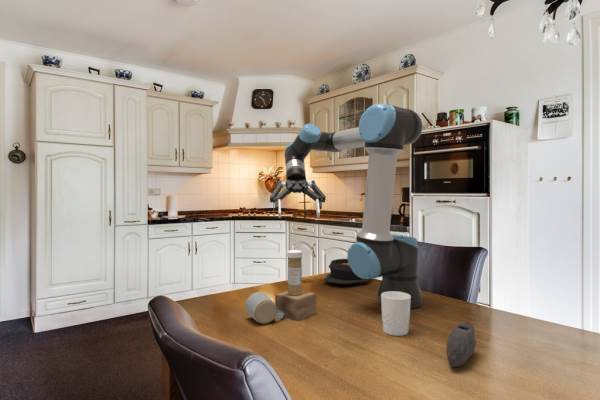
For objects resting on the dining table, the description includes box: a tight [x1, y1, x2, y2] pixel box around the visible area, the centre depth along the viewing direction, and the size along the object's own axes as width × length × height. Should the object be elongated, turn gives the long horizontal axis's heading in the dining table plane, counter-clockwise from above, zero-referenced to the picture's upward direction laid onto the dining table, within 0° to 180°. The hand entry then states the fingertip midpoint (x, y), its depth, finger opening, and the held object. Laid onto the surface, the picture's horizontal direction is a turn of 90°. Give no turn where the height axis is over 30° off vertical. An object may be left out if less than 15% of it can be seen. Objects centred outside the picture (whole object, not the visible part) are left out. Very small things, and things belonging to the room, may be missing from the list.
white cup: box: [380, 291, 411, 337], centre depth 105 cm, size 8×8×10 cm
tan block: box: [274, 290, 317, 322], centre depth 120 cm, size 9×9×6 cm
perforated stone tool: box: [445, 321, 477, 368], centre depth 87 cm, size 15×5×7 cm, turn 143°
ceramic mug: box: [245, 291, 284, 325], centre depth 114 cm, size 11×8×8 cm
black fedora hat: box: [323, 258, 371, 285], centre depth 163 cm, size 25×19×8 cm
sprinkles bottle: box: [286, 249, 303, 295], centre depth 119 cm, size 5×5×13 cm
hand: (299, 215), depth 134 cm, fingers open, 13 cm apart
